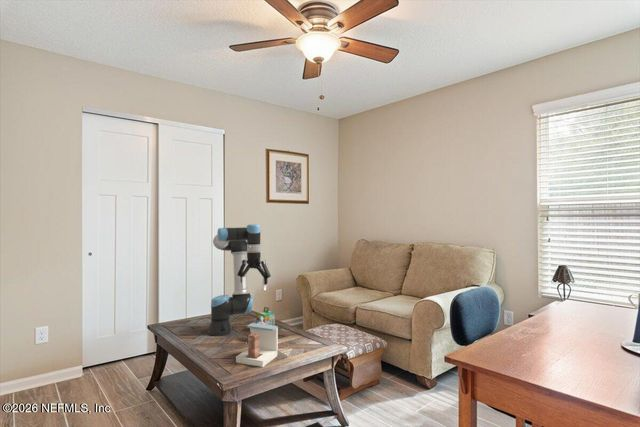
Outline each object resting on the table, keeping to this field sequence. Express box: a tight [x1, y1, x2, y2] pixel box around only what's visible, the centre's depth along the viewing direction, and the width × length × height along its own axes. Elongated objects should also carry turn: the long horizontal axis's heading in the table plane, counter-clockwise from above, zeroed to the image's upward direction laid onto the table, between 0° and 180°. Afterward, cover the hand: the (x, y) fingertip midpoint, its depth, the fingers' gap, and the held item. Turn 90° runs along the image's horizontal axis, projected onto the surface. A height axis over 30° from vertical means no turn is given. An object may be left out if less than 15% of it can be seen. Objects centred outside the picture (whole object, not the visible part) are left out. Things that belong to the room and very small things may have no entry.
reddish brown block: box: [247, 333, 259, 359], centre depth 189 cm, size 4×4×14 cm
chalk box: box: [255, 306, 276, 326], centre depth 240 cm, size 9×9×15 cm
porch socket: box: [235, 322, 279, 368], centre depth 192 cm, size 16×16×16 cm
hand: (253, 289), depth 203 cm, fingers open, 13 cm apart
